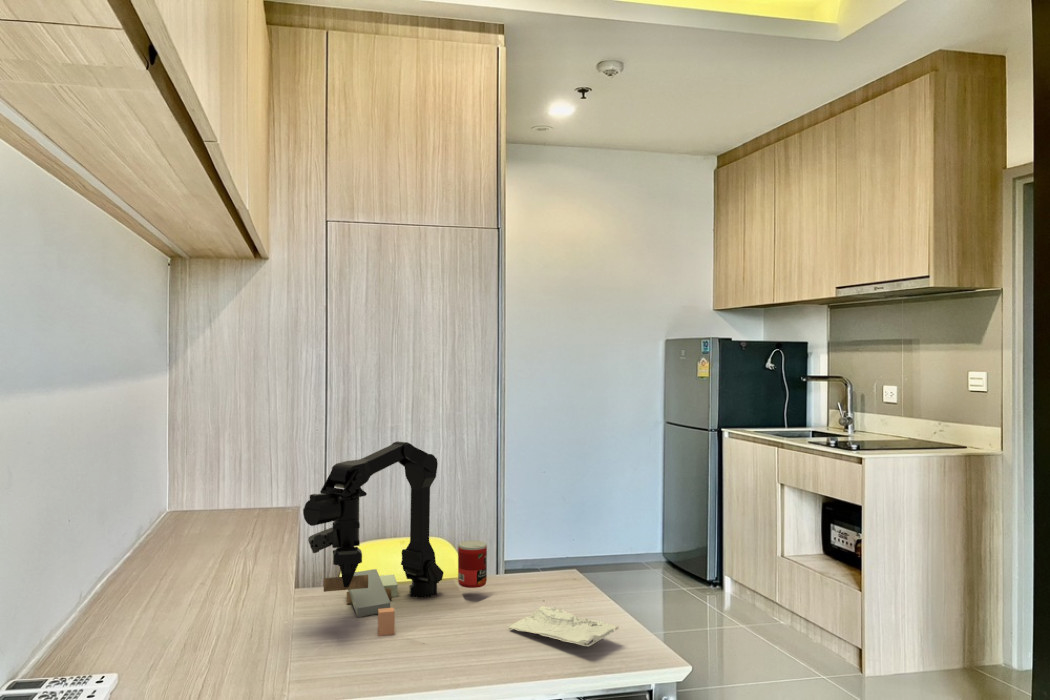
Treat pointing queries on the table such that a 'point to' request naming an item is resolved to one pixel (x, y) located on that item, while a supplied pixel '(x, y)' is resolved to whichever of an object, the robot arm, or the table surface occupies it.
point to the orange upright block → (386, 621)
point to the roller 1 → (337, 585)
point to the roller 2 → (388, 590)
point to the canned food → (472, 564)
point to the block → (390, 584)
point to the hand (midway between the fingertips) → (346, 584)
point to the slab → (369, 595)
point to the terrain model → (564, 626)
